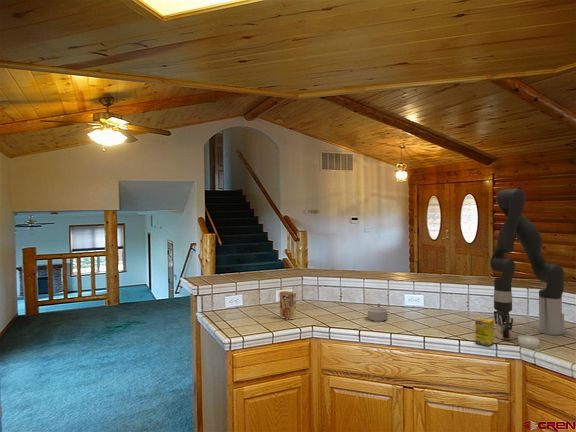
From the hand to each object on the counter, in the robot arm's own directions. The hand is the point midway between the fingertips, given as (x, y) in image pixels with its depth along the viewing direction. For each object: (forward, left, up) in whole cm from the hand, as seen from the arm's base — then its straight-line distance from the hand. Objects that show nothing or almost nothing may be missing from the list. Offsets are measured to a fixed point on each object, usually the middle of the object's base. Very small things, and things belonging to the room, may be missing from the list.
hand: (503, 336), depth 181 cm
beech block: (0, 0, -1) cm, 1 cm away
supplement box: (+12, +8, -1) cm, 14 cm away
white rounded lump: (-6, +10, -1) cm, 12 cm away
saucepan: (+52, -35, -1) cm, 63 cm away
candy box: (+103, -33, -1) cm, 108 cm away
